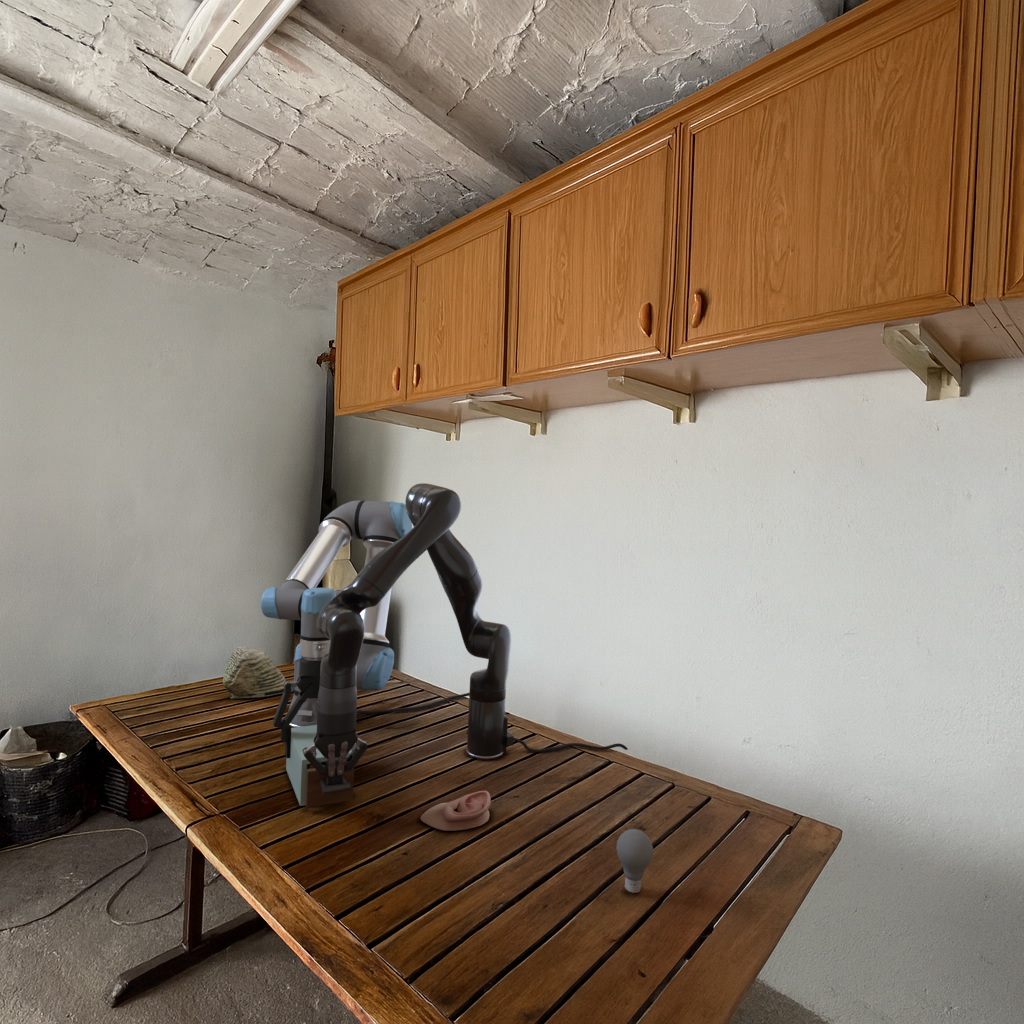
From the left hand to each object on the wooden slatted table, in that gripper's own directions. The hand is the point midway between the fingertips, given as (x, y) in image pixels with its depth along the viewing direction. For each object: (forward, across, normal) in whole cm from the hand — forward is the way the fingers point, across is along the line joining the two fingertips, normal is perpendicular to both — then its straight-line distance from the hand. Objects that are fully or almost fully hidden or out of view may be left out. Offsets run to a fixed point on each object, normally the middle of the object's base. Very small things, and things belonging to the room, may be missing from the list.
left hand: (313, 752), depth 145 cm
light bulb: (+5, +40, -66) cm, 77 cm away
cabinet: (+5, 0, -6) cm, 7 cm away
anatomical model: (+5, +22, -32) cm, 39 cm away
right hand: (0, 0, -22) cm, 22 cm away
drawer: (+4, 0, -13) cm, 13 cm away
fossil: (+5, -6, +63) cm, 63 cm away
